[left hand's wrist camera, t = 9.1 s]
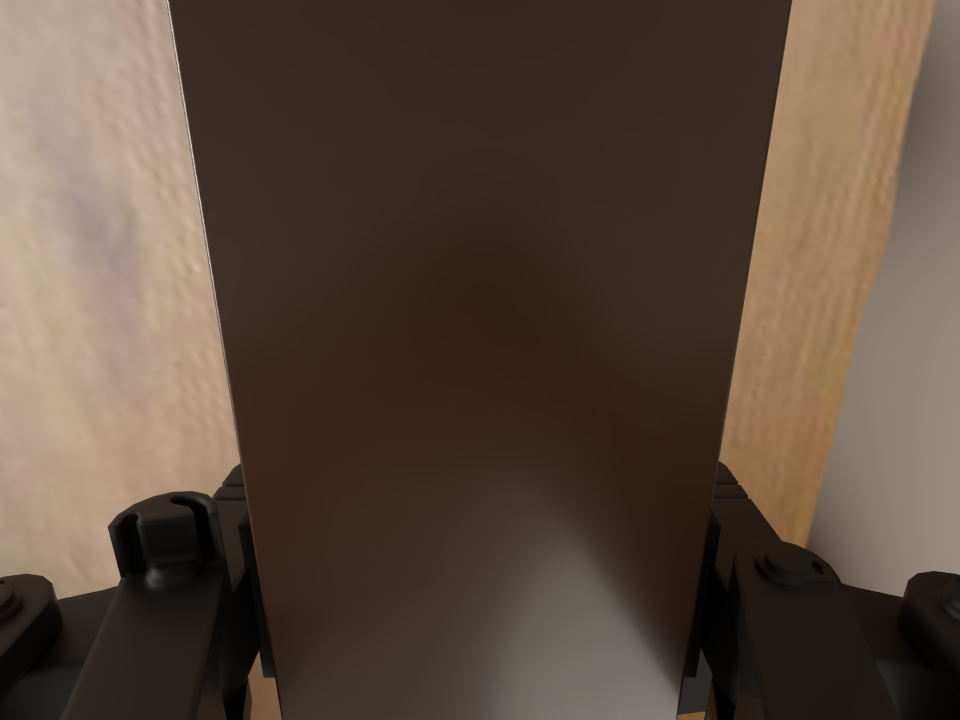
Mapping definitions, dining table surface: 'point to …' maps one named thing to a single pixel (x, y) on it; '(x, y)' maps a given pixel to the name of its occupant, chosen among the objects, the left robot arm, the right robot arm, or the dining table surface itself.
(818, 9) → the dining table surface
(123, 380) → the dining table surface
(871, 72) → the dining table surface
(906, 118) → the dining table surface
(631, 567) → the walnut box
